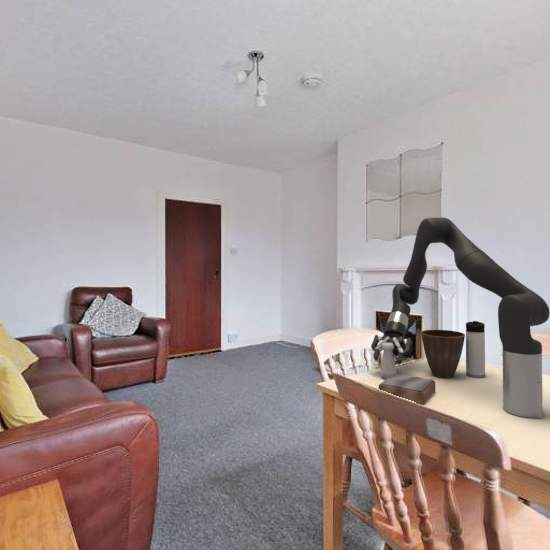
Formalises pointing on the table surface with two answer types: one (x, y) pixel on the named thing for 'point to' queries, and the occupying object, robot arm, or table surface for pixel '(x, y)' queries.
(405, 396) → the plinth
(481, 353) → the travel mug
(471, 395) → the table surface
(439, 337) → the plant pot
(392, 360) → the salt shaker
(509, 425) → the table surface
